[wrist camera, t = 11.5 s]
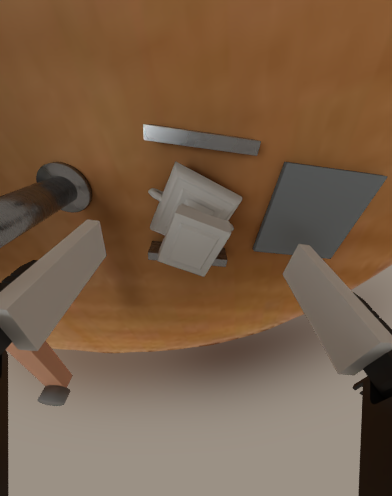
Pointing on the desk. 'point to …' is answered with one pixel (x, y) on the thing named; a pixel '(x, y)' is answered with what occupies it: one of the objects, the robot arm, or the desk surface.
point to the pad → (314, 208)
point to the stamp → (192, 219)
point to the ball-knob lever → (45, 372)
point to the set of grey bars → (79, 191)
